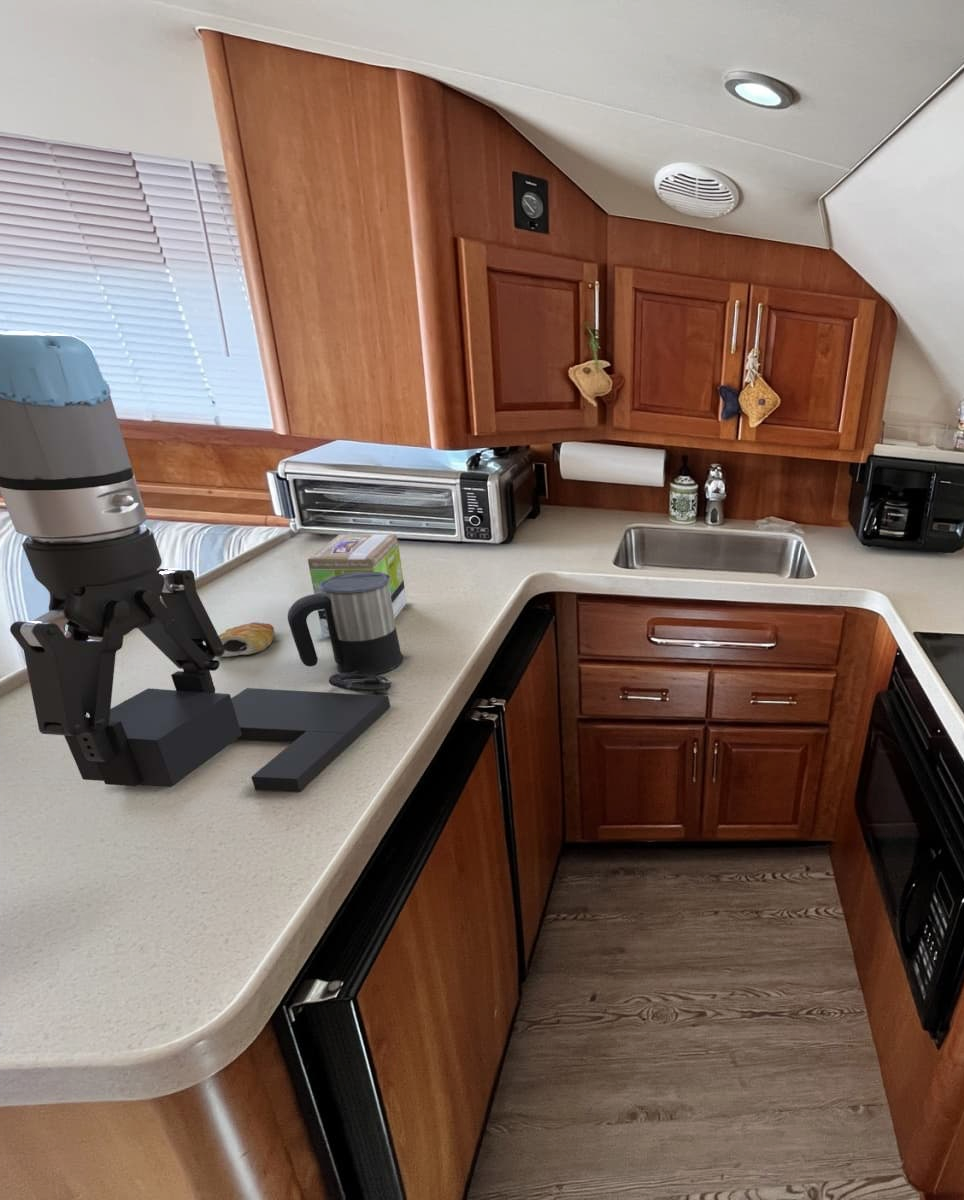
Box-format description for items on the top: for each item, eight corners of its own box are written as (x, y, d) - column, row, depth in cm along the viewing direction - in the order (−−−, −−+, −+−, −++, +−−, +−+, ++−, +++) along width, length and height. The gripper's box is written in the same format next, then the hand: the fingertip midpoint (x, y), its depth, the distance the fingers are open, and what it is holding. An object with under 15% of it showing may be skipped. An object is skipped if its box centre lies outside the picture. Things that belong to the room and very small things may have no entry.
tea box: (386, 635, 114) (372, 557, 108) (321, 638, 111) (303, 558, 105) (409, 602, 127) (397, 532, 121) (351, 604, 124) (336, 532, 118)
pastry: (241, 633, 110) (236, 613, 109) (287, 632, 112) (282, 612, 111) (211, 658, 102) (205, 637, 100) (261, 657, 104) (256, 636, 102)
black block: (82, 779, 58) (63, 734, 56) (162, 729, 65) (147, 688, 63) (173, 785, 58) (156, 740, 56) (242, 735, 66) (230, 693, 64)
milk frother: (382, 646, 110) (367, 566, 104) (443, 671, 104) (430, 588, 98) (291, 680, 98) (268, 592, 92) (354, 711, 92) (333, 618, 86)
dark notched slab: (125, 784, 75) (120, 770, 74) (250, 699, 93) (246, 687, 92) (300, 792, 76) (296, 778, 75) (390, 707, 94) (388, 695, 93)
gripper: (-11, 577, 44) (100, 833, 52) (234, 503, 63) (286, 700, 72) (-126, 568, 43) (5, 827, 52) (156, 497, 63) (217, 695, 71)
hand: (167, 753), depth 62 cm, fingers closed on black block, 8 cm apart
